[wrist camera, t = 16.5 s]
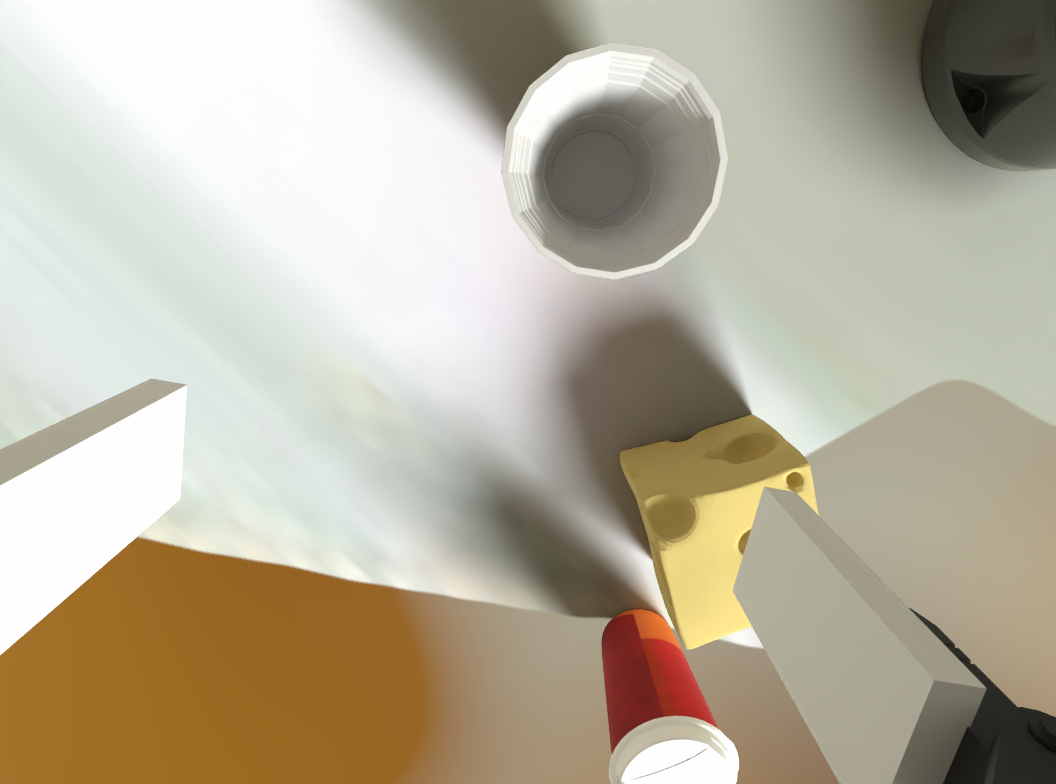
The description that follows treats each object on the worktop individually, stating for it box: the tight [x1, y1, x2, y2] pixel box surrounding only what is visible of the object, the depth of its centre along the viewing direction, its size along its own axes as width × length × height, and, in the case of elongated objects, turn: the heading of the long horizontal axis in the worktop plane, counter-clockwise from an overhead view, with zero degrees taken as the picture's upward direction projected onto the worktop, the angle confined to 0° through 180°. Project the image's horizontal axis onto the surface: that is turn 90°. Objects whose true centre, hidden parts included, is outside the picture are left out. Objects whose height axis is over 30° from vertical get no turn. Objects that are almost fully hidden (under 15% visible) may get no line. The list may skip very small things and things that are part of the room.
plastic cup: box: [501, 42, 728, 280], centre depth 38 cm, size 11×11×12 cm
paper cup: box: [602, 609, 739, 784], centre depth 46 cm, size 8×8×14 cm
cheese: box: [620, 415, 819, 649], centre depth 45 cm, size 10×11×10 cm
